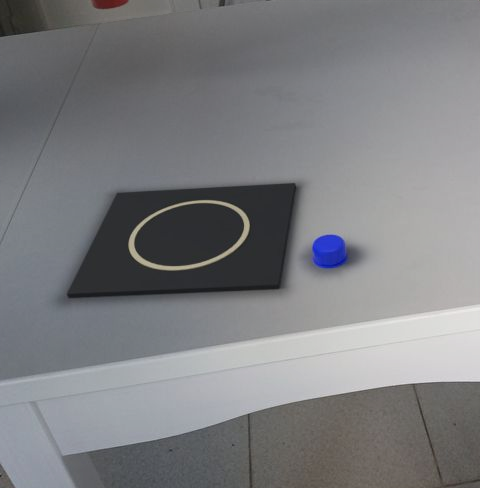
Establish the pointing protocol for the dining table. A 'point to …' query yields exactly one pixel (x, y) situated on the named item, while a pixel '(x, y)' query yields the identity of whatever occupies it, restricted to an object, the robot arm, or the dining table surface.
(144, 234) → the mat
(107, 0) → the stamp
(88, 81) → the dining table surface
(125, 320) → the dining table surface
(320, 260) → the bottle cap
